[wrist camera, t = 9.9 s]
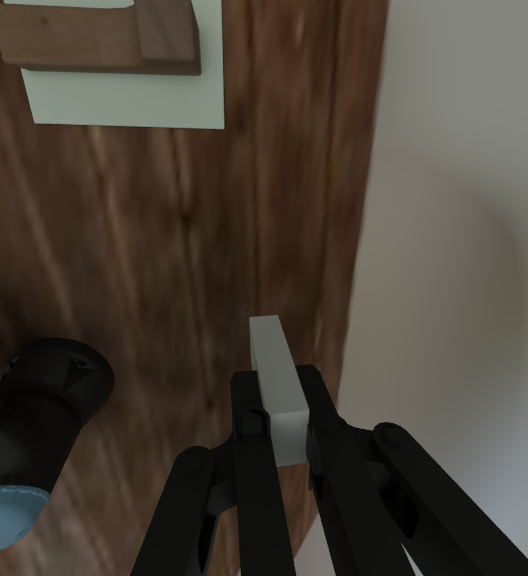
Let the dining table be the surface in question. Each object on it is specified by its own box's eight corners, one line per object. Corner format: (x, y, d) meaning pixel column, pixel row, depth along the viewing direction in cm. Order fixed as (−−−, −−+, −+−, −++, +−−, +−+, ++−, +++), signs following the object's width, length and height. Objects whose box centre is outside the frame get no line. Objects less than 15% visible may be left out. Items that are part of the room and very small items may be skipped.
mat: (37, 123, 36) (34, 123, 36) (-8, -58, 30) (-13, -62, 29) (224, 129, 39) (224, 129, 38) (220, -39, 32) (220, -42, 32)
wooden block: (190, -8, 26) (-57, -21, 24) (195, 60, 28) (-33, 53, 26) (198, 25, 34) (14, 17, 32) (201, 76, 36) (28, 71, 34)
